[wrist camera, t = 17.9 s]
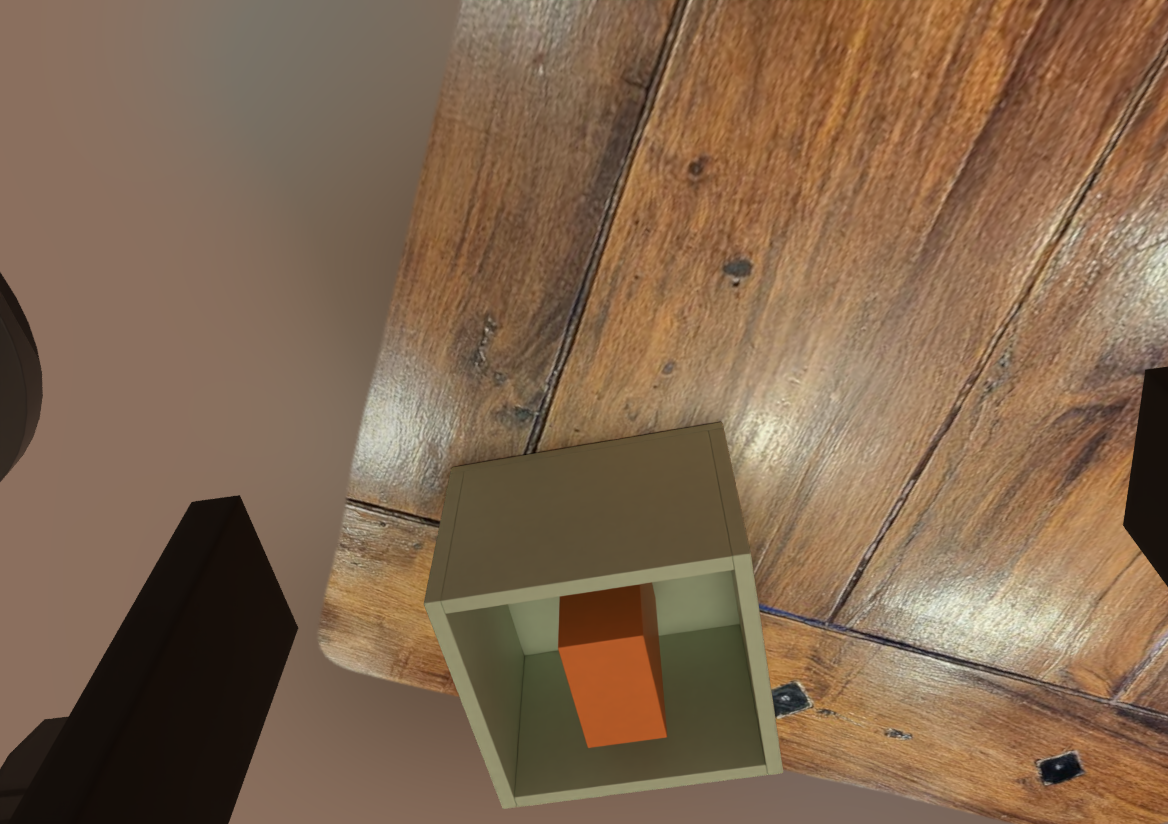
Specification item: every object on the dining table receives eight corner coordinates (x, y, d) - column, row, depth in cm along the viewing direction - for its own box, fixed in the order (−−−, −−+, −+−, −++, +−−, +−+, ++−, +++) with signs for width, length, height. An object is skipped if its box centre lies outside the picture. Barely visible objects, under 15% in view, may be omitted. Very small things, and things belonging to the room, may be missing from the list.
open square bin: (515, 659, 60) (502, 809, 51) (451, 467, 53) (423, 603, 44) (753, 624, 59) (783, 773, 50) (722, 421, 51) (750, 553, 42)
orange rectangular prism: (587, 608, 57) (587, 748, 49) (562, 514, 54) (557, 648, 45) (655, 598, 57) (667, 737, 49) (634, 502, 53) (643, 635, 45)
